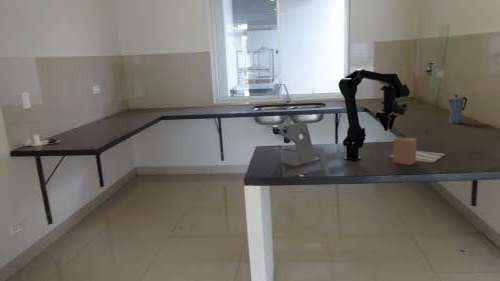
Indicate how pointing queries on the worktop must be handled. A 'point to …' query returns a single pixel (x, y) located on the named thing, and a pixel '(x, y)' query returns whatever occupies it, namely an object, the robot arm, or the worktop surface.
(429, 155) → the birch board
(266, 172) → the worktop surface
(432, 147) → the worktop surface
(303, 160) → the phone holder
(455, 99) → the moka pot
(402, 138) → the terracotta block
